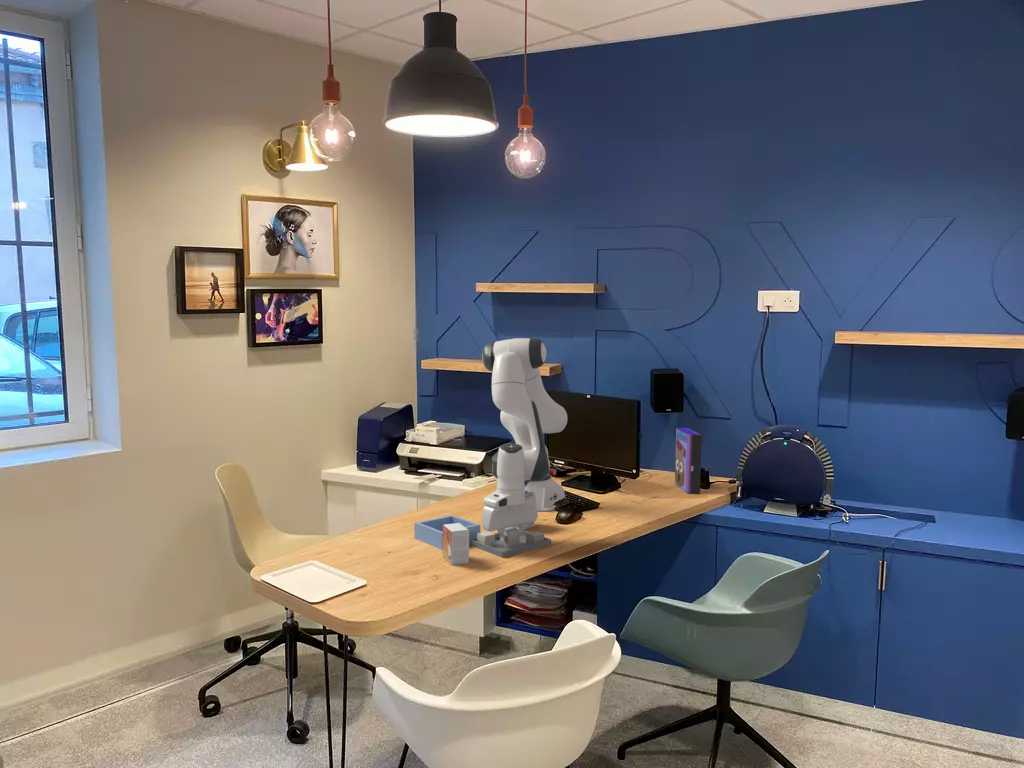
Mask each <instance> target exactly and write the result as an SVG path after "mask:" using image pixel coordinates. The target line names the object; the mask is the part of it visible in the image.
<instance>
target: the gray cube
mask: <svg viewBox="0 0 1024 768" xmlns="http://www.w3.org/2000/svg"><path fill="white" fill-rule="evenodd" d="M529 532H530V533H526V545H528V544H532V543H536V542H540V541H544V537H545V533H541V532H539V531H537V530H536V531H529Z"/></svg>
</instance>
